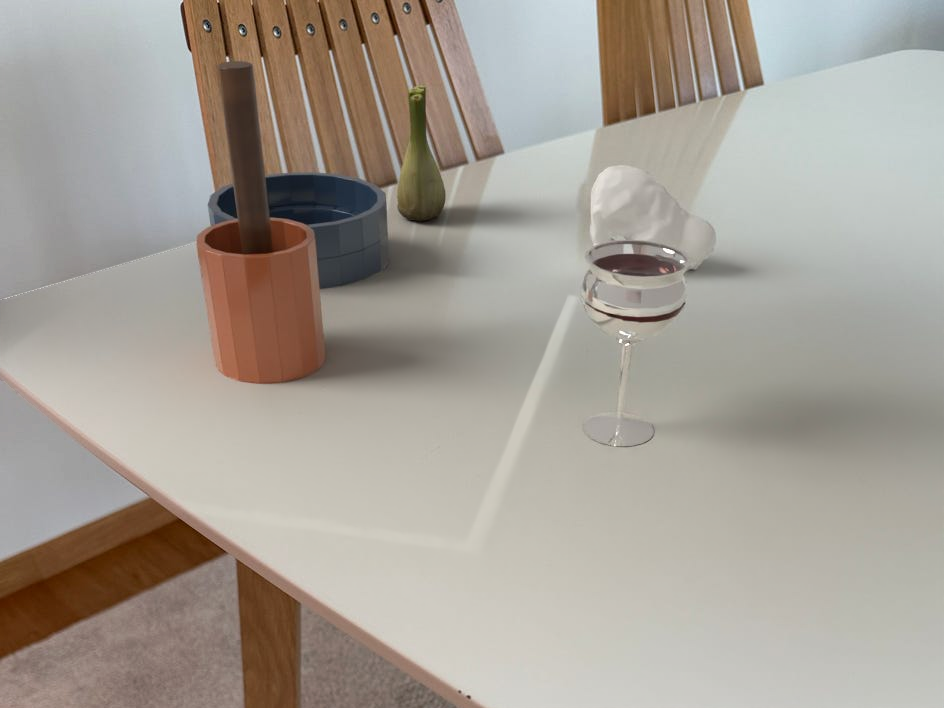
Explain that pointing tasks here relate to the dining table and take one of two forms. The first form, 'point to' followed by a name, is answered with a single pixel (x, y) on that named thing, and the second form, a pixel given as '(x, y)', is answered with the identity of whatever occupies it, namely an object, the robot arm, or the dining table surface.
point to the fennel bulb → (419, 167)
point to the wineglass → (631, 315)
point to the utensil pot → (263, 303)
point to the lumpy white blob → (646, 214)
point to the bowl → (325, 220)
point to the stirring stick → (246, 156)
